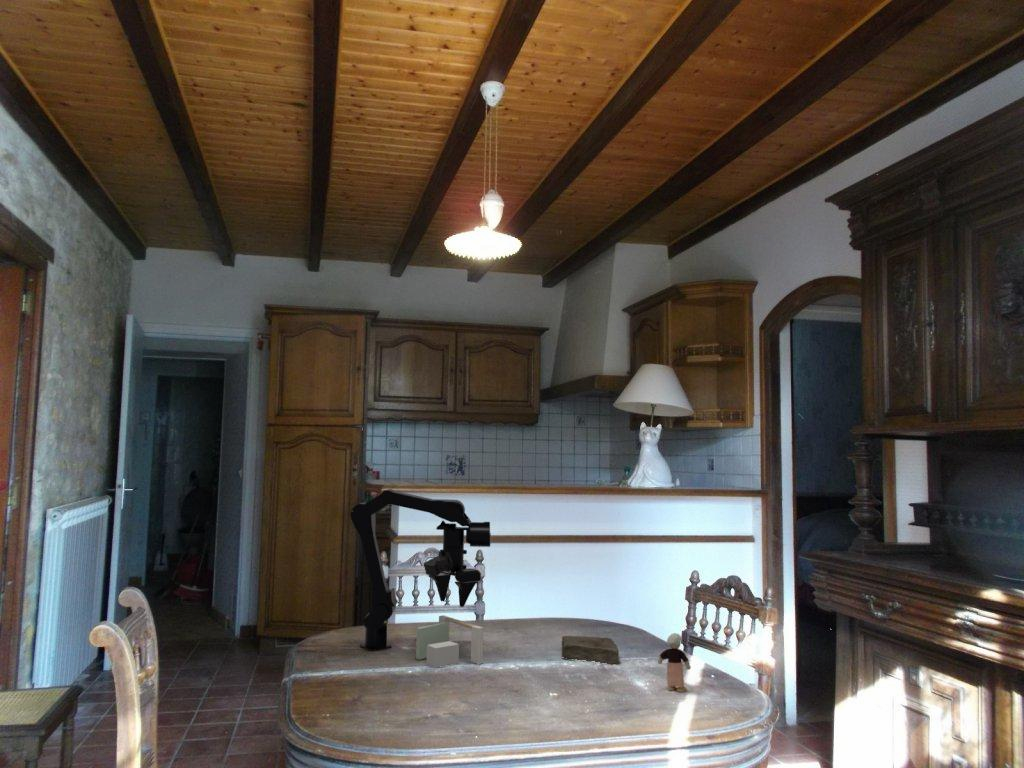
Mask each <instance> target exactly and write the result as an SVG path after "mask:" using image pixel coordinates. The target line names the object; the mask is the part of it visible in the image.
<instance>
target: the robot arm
mask: <svg viewBox="0 0 1024 768" xmlns="http://www.w3.org/2000/svg"><path fill="white" fill-rule="evenodd" d="M389 505H392V506H397V507H401V508H406V509H411V510H414V511H415V510H416V511H420V512H425V513H429V514H432V515H433V516H436V517H438V518H440V519H442V520H441V522H440V524H438V526H436V528H435V529H436V530H437V531H439V530H440V531H443V532H442V533H443V534H442V536H443V538H442V549H439V551H438V555H437V556H435V557H432V558H431V559H429V560H426V561H425V562H423V568H424V570H425V574H426V576H428V577H429V578H431V580H432V581H434V583H435V586H436V589H437V593H438V595H439V600H440V601H441V602H445V601H446V597H447V594H448V590H449V585H450V581H451V576H452V577H453V576H454V578H455V581H454V583H455V585H456V586H457V587H458V602H459V607H460V608H463V607H465V605H466V603H467V600H468V599H469V596H470V594H471V593H472V591H473V589H474V587H475V586H476V584H478V583H479V582H480V581H482V573H481V571H480V570H479V569H475V568H467V565H466V564H464V557H465V555H467V553H468V551H467V549H464V546H465V545H464V544H465V542H466V543H467V544H468V545H469V547H475V548H476V547H478V548H480V547H481V548H482V547H483V548H485V547H486V548H487V547H488V548H490V547H491V537H492V536H491V535H492V534H491V522H490V521H482V522H481V521H479V522H478V521H476V522H475V521H471V519H470V517H469V516H468V515H467V514H466V507H465V505H464V504H463V502H462V501H461V500H458V499H448V498H447V499H445V498H444V499H441V498H440V499H438V498H437V499H436V498H428V497H424V496H421V495H420V496H419V495H415V494H411V493H406V492H401V491H397V490H394V489H392V488H388V489H385V490H383V491H382V492H381V493H380V494H379V495H377V496H375V497H374V498H372V499H370V500H369V501H367V502H360V503H358V504H356V505H354V506H353V507H352V508H351V510H350V514H349V515H350V516H349V517H350V519H351V522H352V525H353V527H354V529H355V531H356V533H357V535H358V537H359V538H360V542H361V546H362V551H363V556H364V560H365V564H366V568H367V573H368V578H369V582H370V587H371V591H370V592H371V594H370V605H371V607H370V609H371V610H370V611H369V612H368V613H367V614H366V616H365V617H364V618H363V619H362V623H363V626H364V628H365V629H364V632H365V633H364V643H361V644H359V647H360V648H363V649H365V650H367V651H370V652H373V651H378V650H379V651H380V650H383V649H384V650H387V649H391V648H392V645H390V644H388V641H387V640H388V624H387V623H386V622H387V621H388V620H389V619H390V618H391V617H392V616H393V614H394V613H395V611H396V609H397V603H398V602H399V601H398V599H397V596H396V588H395V587H393V588H391V589H390V587H389V585H388V583H387V580H386V576H385V571H384V567H383V563H382V558H381V554H380V550H379V549H380V548H379V544H378V540H377V536H376V526H377V524H376V523H377V522H376V514H377V513H378V512H380V511H381V510H383V509H384V508H386V507H387V506H389ZM446 521H447V522H450V523H447V522H446ZM457 524H458V525H459V526H457ZM465 531H466V532H465Z"/></svg>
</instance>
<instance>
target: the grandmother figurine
mask: <svg viewBox="0 0 1024 768" xmlns="http://www.w3.org/2000/svg"><path fill="white" fill-rule="evenodd" d="M681 642H682V636H681V635H680V633H676V632H673V633H671V634H670V635H669V636H668V637H667V639H666V643H667V644H668V645H669V647H670V648H667V649H664V650H663V651H662V652H661V653H660V654H659V658H658V660H657V664H659V665H661V664H663V661H664V660H667V666H666V680H667V682H666V683H667V689H668V690H667V689H666V690H667V691H671V690H673V691H675V690H676V692H679V693H684V692H687V691H688V689H687V687H686V686H685V683H684V666H683V664H684V665H685V667H686V668H685V669H686V670H691V665H690V662H689V658H688V657H687V655H686V654H685V652H684V651H683V650H681V649H680V648H681V647H680V646H681ZM682 662H683V663H682ZM677 687H678V688H677Z"/></svg>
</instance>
